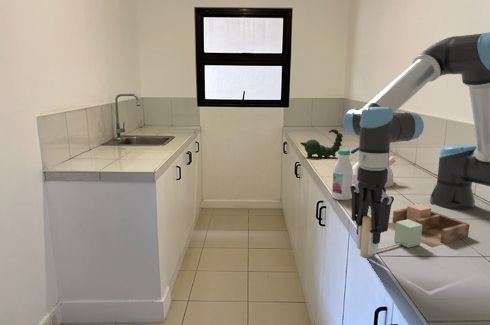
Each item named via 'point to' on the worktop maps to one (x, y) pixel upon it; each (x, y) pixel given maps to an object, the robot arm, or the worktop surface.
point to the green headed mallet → (404, 235)
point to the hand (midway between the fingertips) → (367, 250)
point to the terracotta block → (417, 212)
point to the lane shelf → (435, 228)
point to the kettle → (390, 173)
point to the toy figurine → (315, 148)
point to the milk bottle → (342, 176)
